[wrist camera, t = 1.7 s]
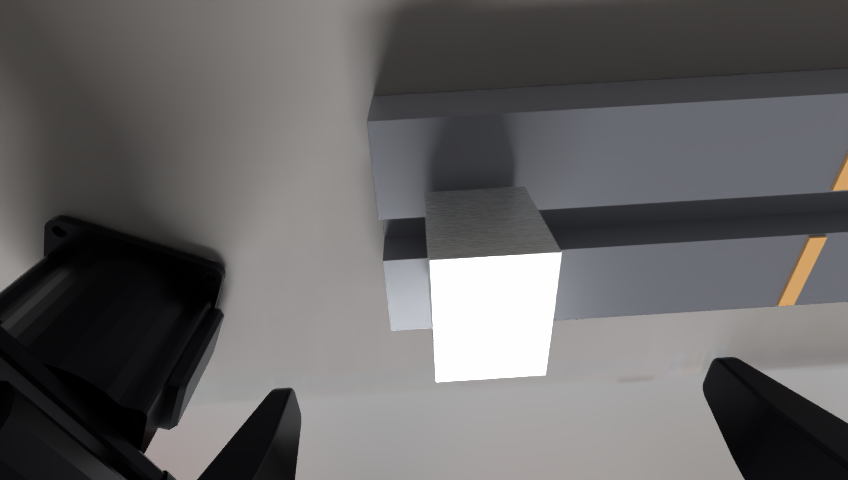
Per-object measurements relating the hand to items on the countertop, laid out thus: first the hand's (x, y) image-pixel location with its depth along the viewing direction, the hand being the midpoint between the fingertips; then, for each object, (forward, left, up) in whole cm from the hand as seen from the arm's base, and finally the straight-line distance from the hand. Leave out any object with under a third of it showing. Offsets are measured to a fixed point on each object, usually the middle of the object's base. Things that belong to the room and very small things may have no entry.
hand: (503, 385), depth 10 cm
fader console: (+6, +3, -9) cm, 12 cm away
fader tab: (0, 0, -7) cm, 7 cm away
